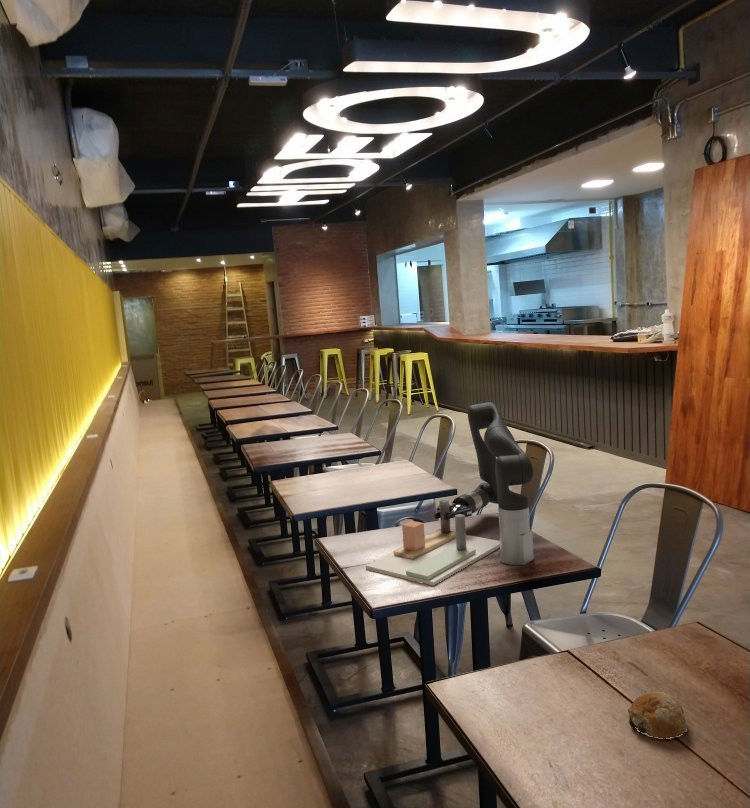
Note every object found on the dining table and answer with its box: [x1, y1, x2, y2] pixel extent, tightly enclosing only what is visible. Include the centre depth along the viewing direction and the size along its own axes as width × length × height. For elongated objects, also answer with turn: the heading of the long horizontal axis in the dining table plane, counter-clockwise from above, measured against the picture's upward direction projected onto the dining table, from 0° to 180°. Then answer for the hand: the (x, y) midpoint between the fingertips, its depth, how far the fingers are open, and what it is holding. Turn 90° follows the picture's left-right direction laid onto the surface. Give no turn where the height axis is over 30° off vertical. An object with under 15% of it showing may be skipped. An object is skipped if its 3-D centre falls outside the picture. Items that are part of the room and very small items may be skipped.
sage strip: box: [406, 514, 476, 580], centre depth 217 cm, size 8×26×12 cm, turn 140°
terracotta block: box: [401, 520, 426, 551], centre depth 230 cm, size 5×5×8 cm
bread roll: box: [627, 691, 688, 739], centre depth 132 cm, size 10×10×8 cm
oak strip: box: [392, 499, 456, 559], centre depth 235 cm, size 8×26×12 cm, turn 140°
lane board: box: [365, 534, 500, 586], centre depth 228 cm, size 26×40×1 cm, turn 140°
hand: (440, 516), depth 241 cm, fingers closed on oak strip, 3 cm apart
